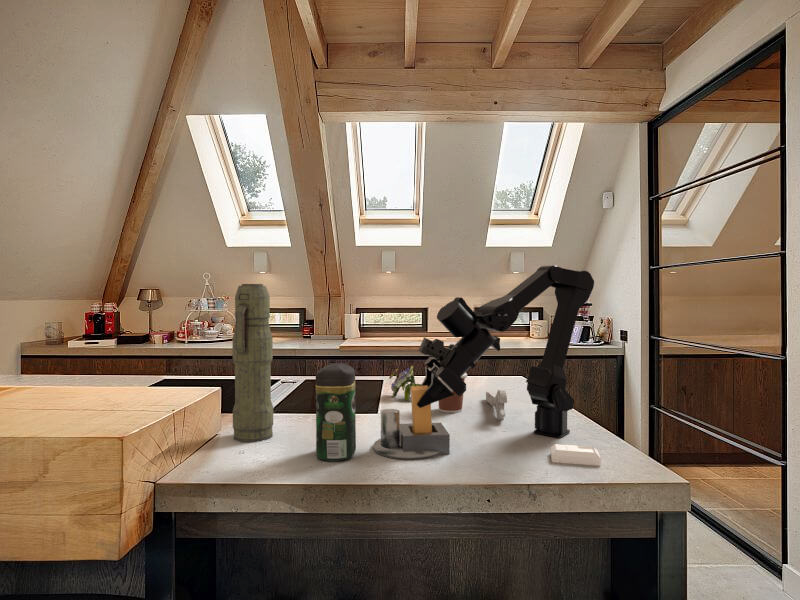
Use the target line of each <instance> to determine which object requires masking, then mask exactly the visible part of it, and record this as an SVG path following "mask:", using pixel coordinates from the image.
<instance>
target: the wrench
mask: <svg viewBox="0 0 800 600" xmlns="http://www.w3.org/2000/svg"><path fill="white" fill-rule="evenodd" d="M507 396H508V395H507V391H506V390H505V389H497V392H496V393H495V392H493V391H486V392H485V401H486V400H487V401H486V402H487V403H488V404H490V405H491V406H492V407H494V409H495V413H496V420H497V419H501V420H500V421H504V419H505V417H506V411H505V404H506V403H508V398H507ZM502 419H503V420H502Z"/></svg>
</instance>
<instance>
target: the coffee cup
mask: <svg viewBox="0 0 800 600" xmlns="http://www.w3.org/2000/svg"><path fill="white" fill-rule="evenodd" d="M461 378H462V380H463V381H464V382H465V381H466V380H465V379H466V378H468V374H467V372H465V373H464V374H463V375H462V376H461ZM452 393H453V394H454V396H450V397H447V398H444V399H442V400H439V401H437V402H438V411H439V412H441V413H444V412H445V414H458V413H457V412H459V413H461V412H463V401H464V393H463V394H462V395H461V396H460V397H459V396H458V395H457V394H456V393H455V392H454V391H452Z"/></svg>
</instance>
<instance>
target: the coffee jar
mask: <svg viewBox="0 0 800 600" xmlns="http://www.w3.org/2000/svg"><path fill="white" fill-rule="evenodd" d="M314 385H315V423H316V425H315V427H316V430H315V431H316V433H315V436H316V437H315V455H316V458H317V459H318V460H322V461H327V462H334V461H335V462H340V461H345V460H349V459H352V457H353V456H354V455H355V453H356V449H357V447H356V446H357V445H356V444H357V436H356V434H357V433H356V432H357V431H356V370H355V369H354V367H353V366H351V365H349V363H343V362H342V363H337V362H336V363H329V364H328V365H326V366H323V367H322V368H320V369H319V370H317V372H315V384H314Z"/></svg>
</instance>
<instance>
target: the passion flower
mask: <svg viewBox="0 0 800 600" xmlns="http://www.w3.org/2000/svg"><path fill="white" fill-rule="evenodd" d="M398 371H399V369H398V368H396V369H394V371H392V373H391V374H390V376H388V377H389V378H388V379H389V380H390V379H392V378H393V377H394V376H395V379H394V381H393V382H391V388H390V389H391V391H392V394H391V395H392V396H391V397H392V398H396V397H397V395H398V393H399V391H400V388H401V389H402V391H403V392H404V400H405V401H407V402H408V401H409V402H410V398H411V386H421V385H422V383H416V380H415V375H414V365H411V366H410V368H406V369H404V370H403V371H401V372H399V374H398V375H397V373H398Z"/></svg>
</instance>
